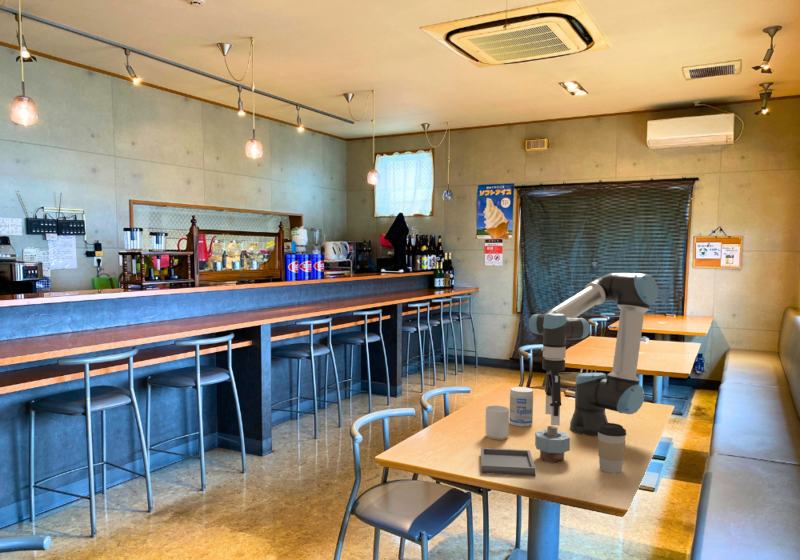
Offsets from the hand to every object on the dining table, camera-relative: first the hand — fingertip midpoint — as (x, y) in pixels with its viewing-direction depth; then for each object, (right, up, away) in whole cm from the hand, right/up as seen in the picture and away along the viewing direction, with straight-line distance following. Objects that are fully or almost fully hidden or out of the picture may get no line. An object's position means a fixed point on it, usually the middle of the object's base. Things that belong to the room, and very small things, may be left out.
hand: (552, 419), depth 194 cm
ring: (0, -10, +1) cm, 10 cm away
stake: (0, -14, +1) cm, 14 cm away
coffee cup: (+17, -15, -8) cm, 24 cm away
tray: (-17, -14, -5) cm, 22 cm away
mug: (-14, -13, +26) cm, 32 cm away
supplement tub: (-2, -12, +41) cm, 43 cm away
